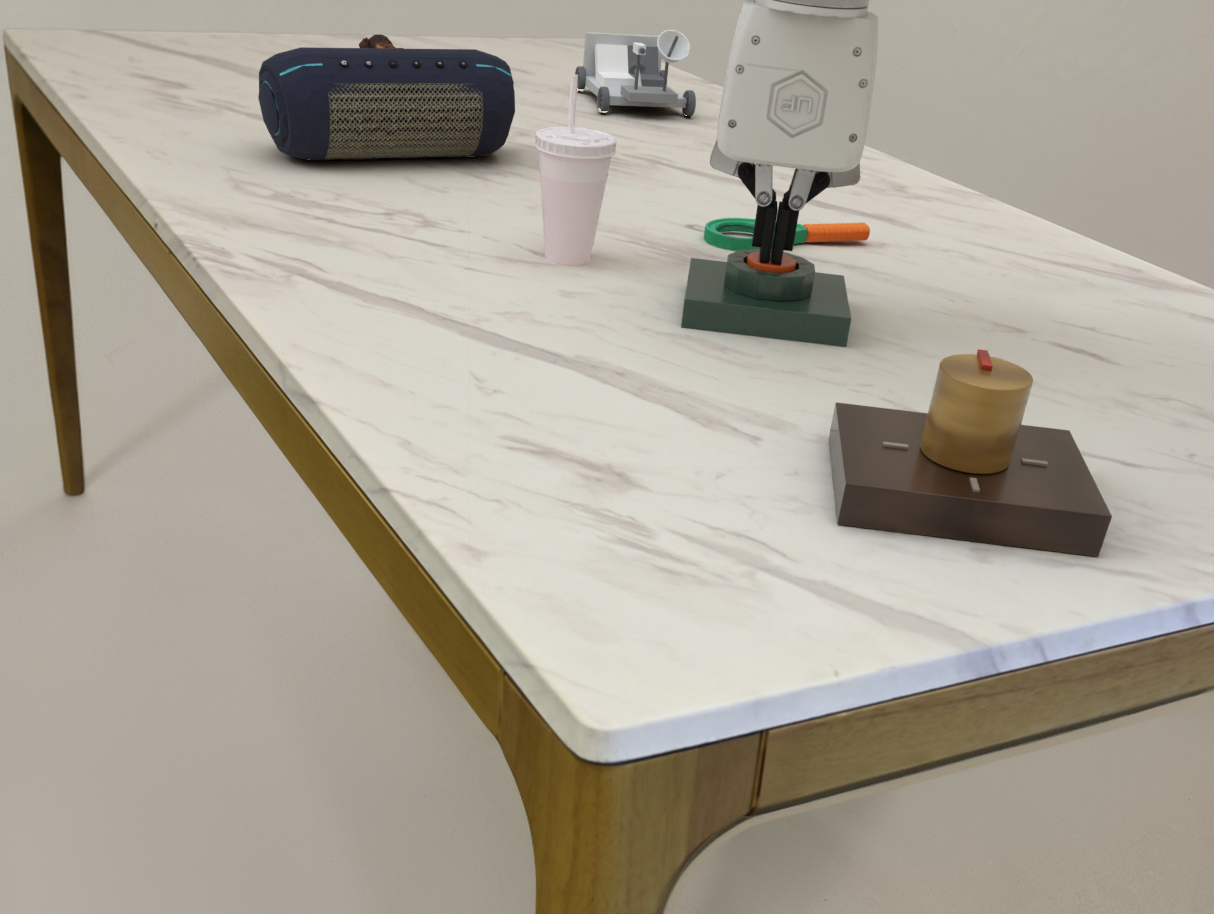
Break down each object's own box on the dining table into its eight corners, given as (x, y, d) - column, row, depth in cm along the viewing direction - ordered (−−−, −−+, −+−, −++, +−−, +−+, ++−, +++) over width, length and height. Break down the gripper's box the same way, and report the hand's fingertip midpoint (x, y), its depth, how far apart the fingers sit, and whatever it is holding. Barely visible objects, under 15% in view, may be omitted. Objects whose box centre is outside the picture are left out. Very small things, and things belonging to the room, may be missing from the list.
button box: (838, 302, 100) (848, 252, 98) (845, 347, 91) (856, 293, 89) (687, 284, 100) (693, 234, 98) (680, 328, 92) (687, 274, 90)
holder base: (1058, 467, 77) (1070, 427, 75) (1098, 557, 68) (1113, 513, 66) (828, 439, 78) (836, 399, 76) (837, 524, 68) (846, 480, 67)
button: (792, 277, 96) (795, 254, 95) (792, 292, 93) (796, 268, 92) (744, 271, 96) (748, 248, 95) (744, 286, 93) (747, 263, 92)
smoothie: (560, 241, 107) (571, 64, 99) (622, 260, 104) (638, 79, 97) (512, 257, 102) (520, 72, 95) (576, 277, 99) (589, 88, 92)
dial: (1015, 479, 69) (1041, 389, 66) (923, 467, 69) (945, 376, 66) (1004, 441, 73) (1028, 355, 70) (917, 430, 73) (937, 343, 71)
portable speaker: (278, 174, 117) (272, 58, 112) (254, 147, 125) (247, 37, 119) (528, 167, 127) (534, 60, 122) (493, 142, 135) (496, 41, 129)
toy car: (711, 35, 146) (614, 30, 143) (700, 124, 151) (607, 121, 148) (667, 10, 161) (579, 5, 158) (659, 92, 166) (573, 89, 163)
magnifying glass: (716, 252, 108) (718, 232, 107) (694, 231, 113) (696, 212, 112) (877, 253, 112) (881, 234, 111) (849, 232, 117) (853, 214, 116)
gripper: (699, -22, 81) (666, 261, 91) (933, 4, 80) (874, 286, 90) (704, -34, 87) (672, 232, 97) (921, -10, 86) (867, 255, 96)
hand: (770, 257), depth 94 cm, fingers closed
